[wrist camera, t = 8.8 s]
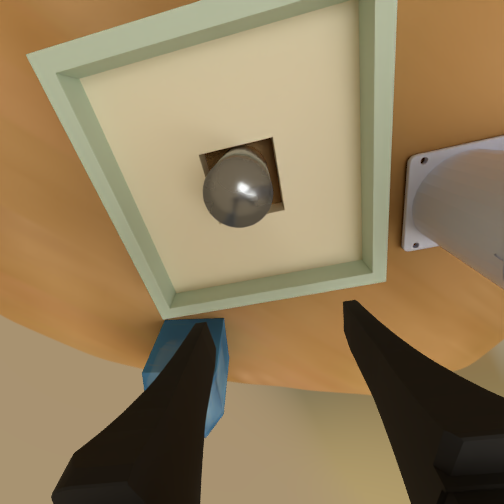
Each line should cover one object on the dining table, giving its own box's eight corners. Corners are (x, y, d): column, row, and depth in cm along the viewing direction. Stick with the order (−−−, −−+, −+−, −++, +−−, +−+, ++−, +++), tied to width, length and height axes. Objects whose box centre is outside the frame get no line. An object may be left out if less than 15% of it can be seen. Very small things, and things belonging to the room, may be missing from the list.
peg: (267, 144, 18) (274, 157, 12) (267, 194, 20) (272, 227, 14) (218, 145, 18) (198, 158, 12) (221, 194, 20) (206, 228, 14)
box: (362, -16, 14) (399, -61, 11) (365, 255, 22) (386, 281, 19) (76, 68, 16) (25, 54, 12) (175, 290, 24) (162, 319, 21)
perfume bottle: (223, 318, 26) (204, 454, 15) (229, 358, 29) (215, 496, 18) (165, 319, 26) (105, 456, 16) (176, 359, 29) (132, 497, 18)
